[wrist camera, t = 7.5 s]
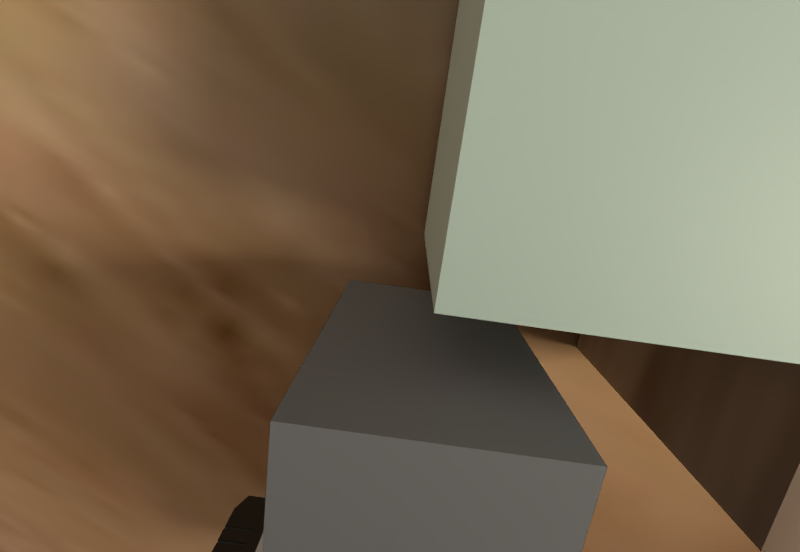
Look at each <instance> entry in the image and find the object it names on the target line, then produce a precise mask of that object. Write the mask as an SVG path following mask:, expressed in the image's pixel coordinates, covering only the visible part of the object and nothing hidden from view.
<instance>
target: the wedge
mask: <svg viewBox="0 0 800 552" xmlns="http://www.w3.org/2000/svg"><path fill="white" fill-rule="evenodd" d="M606 470H607V465H606V464H605V462H604V461H603V459H602V458H601V456H600V455H599V453H598V452H597V450H596V448H595V447H594V445H593V444H592V442H591V441H590V439H589V438H588V436H587V435H586V433H585V432H584V430H583V429H582V427H581V425H580V424H579V422H578V421H577V419H576V418H575V416H574V415H573V413H572V412H571V410H570V409H569V407H568V405H567V404H566V402H565V401H564V399H563V398H562V396H561V395H560V393H559V392H558V390H557V389H556V387H555V386H554V384H553V382H552V381H551V379H550V378H549V376H548V375H547V373H546V372H545V370H544V369H543V367H542V366H541V364H540V362H539V361H538V359H537V358H536V356H535V355H534V353H533V352H532V350H531V349H530V347H529V346H528V344H527V342H526V341H525V339H524V338H523V336H522V335H521V333H520V332H519V330H518V329H517V327H516V326H515V324H508V323H501V322H494V321H487V320H479V319H472V318H465V317H458V316H451V315H443V314H436V313H434V309H433V301H432V293H431V291H429V290H421V289H414V288H407V287H400V286H392V285H385V284H378V283H370V282H363V281H356V280H350V281H349V283H348V285H347V286H346V288H345V290H344V292H343V293H342V295H341V297H340V299H339V301H338V302H337V304H336V306H335V308H334V309H333V311H332V313H331V315H330V316H329V318H328V320H327V322H326V324H325V325H324V327H323V329H322V331H321V332H320V334H319V336H318V338H317V339H316V341H315V343H314V345H313V346H312V348H311V350H310V352H309V354H308V355H307V357H306V359H305V361H304V362H303V364H302V366H301V368H300V369H299V371H298V373H297V375H296V377H295V378H294V380H293V382H292V384H291V385H290V387H289V389H288V391H287V392H286V394H285V396H284V398H283V400H282V401H281V403H280V405H279V407H278V408H277V410H276V412H275V414H274V415H273V417H272V419H271V421H270V435H269V451H268V467H267V483H266V499H265V515H264V531H263V547H262V552H582V548H583V545H584V542H585V538H586V535H587V532H588V529H589V525H590V522H591V519H592V516H593V512H594V509H595V506H596V503H597V499H598V496H599V493H600V490H601V486H602V483H603V480H604V477H605V473H606Z"/></svg>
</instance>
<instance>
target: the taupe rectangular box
mask: <svg viewBox="0 0 800 552" xmlns="http://www.w3.org/2000/svg"><path fill="white" fill-rule="evenodd" d="M577 348H578V349H579V350H580V351H581V353H582V354H583V355H584V356H585V357H586V358H587V359H588V360H589V361H590V363H591V364H592V365H593V366H594V367H595V368H596V369H597V370H598V371H599V372H600V374H601V375H602V376H603V377H604V378H605V379H606V380H607V381H608V382H609V384H610V385H611V386H612V387H613V388H614V389H615V390H616V391H617V392H618V393H619V395H620V396H621V397H622V398H623V399H624V400H625V401H626V402H627V403H628V405H629V406H630V407H631V408H632V409H633V410H634V411H635V412H636V413H637V415H638V416H639V417H640V418H641V419H642V420H643V421H644V422H645V423H646V424H647V426H648V427H649V428H650V429H651V430H652V431H653V432H654V433H655V434H656V436H657V437H658V438H659V439H660V440H661V441H662V442H663V443H664V444H665V445H666V447H667V448H668V449H669V450H670V451H671V452H672V453H673V454H674V455H675V457H676V458H677V459H678V460H679V461H680V462H681V463H682V464H683V465H684V466H685V468H686V469H687V470H688V471H689V472H690V473H691V474H692V475H693V476H694V478H695V479H696V480H697V481H698V482H699V483H700V484H701V485H702V486H703V488H704V489H705V490H706V491H707V492H708V493H709V494H710V495H711V496H712V497H713V499H714V500H715V501H716V502H717V503H718V504H719V505H720V506H721V507H722V509H723V510H724V511H725V512H726V513H727V514H728V515H729V516H730V517H731V518H732V520H733V521H734V522H735V523H736V524H737V525H738V526H739V527H740V528H741V530H742V531H743V532H744V533H745V534H746V535H747V536H748V537H749V538H750V540H751V541H752V542H753V543H754V544H755V545H756V546H757V547H758V548H759V549H760V551H765V552H800V364H795V363H788V362H781V361H773V360H766V359H759V358H752V357H745V356H738V355H730V354H723V353H716V352H709V351H702V350H694V349H687V348H680V347H673V346H666V345H659V344H651V343H644V342H637V341H630V340H623V339H616V338H608V337H601V336H594V335H587V334H580V336H579V340H578V343H577Z"/></svg>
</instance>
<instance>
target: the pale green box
mask: <svg viewBox="0 0 800 552" xmlns="http://www.w3.org/2000/svg"><path fill="white" fill-rule="evenodd" d="M424 237H425V245H426V253H427V261H428V269H429V277H430V285H431V293H432V301H433V309H434V313H436V314H443V315H451V316H458V317H465V318H472V319H479V320H487V321H494V322H501V323H508V324H515V325H522V326H530V327H537V328H544V329H551V330H558V331H565V332H573V333H580V334H587V335H594V336H601V337H608V338H616V339H623V340H630V341H637V342H644V343H651V344H659V345H666V346H673V347H680V348H687V349H694V350H702V351H709V352H716V353H723V354H730V355H738V356H745V357H752V358H759V359H766V360H773V361H781V362H788V363H795V364H800V0H459V6H458V12H457V19H456V26H455V32H454V39H453V46H452V52H451V59H450V66H449V72H448V79H447V86H446V92H445V99H444V106H443V112H442V119H441V126H440V132H439V139H438V146H437V153H436V159H435V166H434V173H433V179H432V186H431V193H430V199H429V206H428V213H427V219H426V226H425V233H424Z"/></svg>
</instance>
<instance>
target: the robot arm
mask: <svg viewBox="0 0 800 552" xmlns="http://www.w3.org/2000/svg"><path fill="white" fill-rule="evenodd" d="M265 499H266V498H262V497H255V496H248V497H247V498H246V499H245V500H244V501H242V502H241V503H240V504H239V505H238V506H237V507H236V508H235V509H234V510H233V512H232V514H231V516H230V518H229V520H228V522H227V524H226V526H225V529H223V531H222V533H221V535H220V537H219V539H218V542H217V543H216V545H215V547H214V549H213V551H212V552H262V547H263V531H264V515H265Z"/></svg>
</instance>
